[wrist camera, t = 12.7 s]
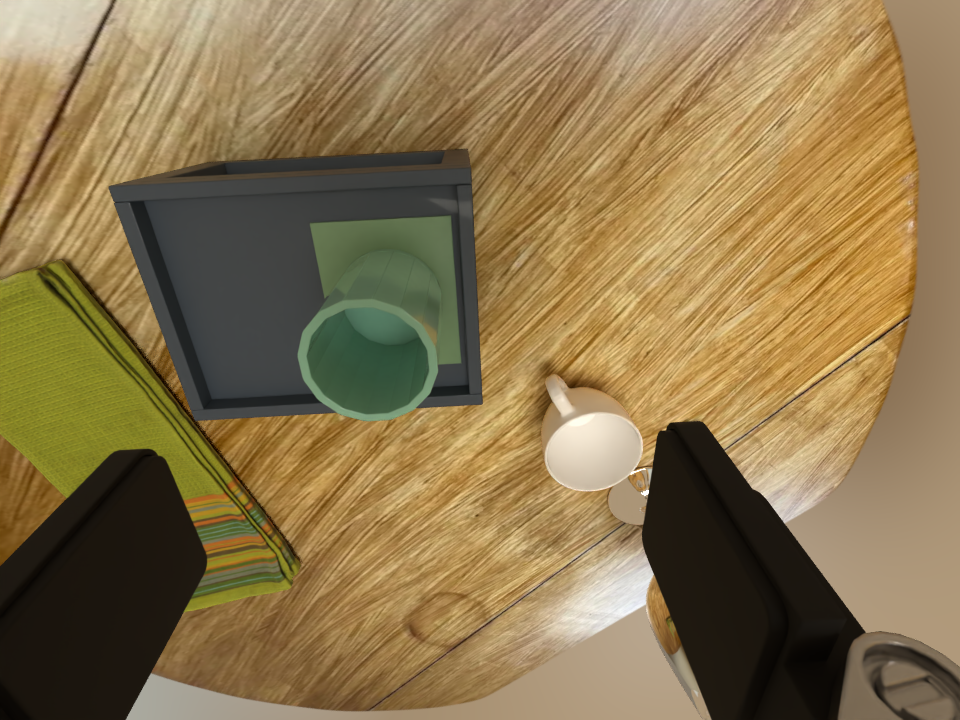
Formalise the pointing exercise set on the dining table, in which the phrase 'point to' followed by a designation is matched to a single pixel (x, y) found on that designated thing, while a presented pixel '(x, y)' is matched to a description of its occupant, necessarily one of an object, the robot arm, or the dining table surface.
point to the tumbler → (375, 338)
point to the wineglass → (655, 584)
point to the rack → (294, 266)
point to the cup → (588, 438)
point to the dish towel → (122, 425)
